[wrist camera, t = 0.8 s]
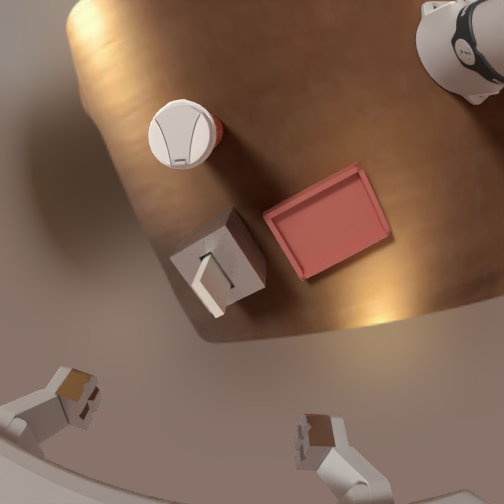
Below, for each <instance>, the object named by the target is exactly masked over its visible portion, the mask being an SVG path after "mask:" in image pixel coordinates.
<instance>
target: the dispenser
mask: <svg viewBox="0 0 504 504" xmlns="http://www.w3.org/2000/svg"><path fill="white" fill-rule="evenodd" d="M210 251H211V253H212V254H213V256H214V257H215V258H216V260H217V261H218V263H219V264H220V266H221V267H222V269H223V270H224V272H225V273H226V274H227V276H228V277H229V279H230V280H231V282H232V283H231V288H230V292H229V296H228V300H227V305H230V304H232V303H234V302H236V301H238V300H240V299H242V298H244V297H246V296H248V295H250V294H252V293H254V292H256V291H258V290H260V289H262V288H264V287H265V286H266V258H265V256H264V255H263V253H262V251H261V250H260V248H259V247H258V245H257V244H256V242H255V240H254V239H253V237H252V236H251V234H250V233H249V231H248V229H247V228H246V226H245V225H244V223H243V221H242V220H241V218H240V217H239V215H238V214H237V212H236V210H235V209H234V207H232V208H230V209H228V210H227V211H225V212H223V213H222V214H220V215H218V216H216V217H215V218H213V219H211V220H210V221H208V222H206V223H205V224H203V225H201V226H200V227H198V228H196V229H195V230H193V231H191V232H190V233H188V234H186V235H185V237H184V238H183V239H182V241H181V242H180V244H179V245H178V246H177V248H176V249H175V251H174V252H173V254H172V255H171V257H170V259H171V261H172V262H173V263H174V265H175V266H176V268H177V269H178V270H179V272H180V273H181V274H182V276H183V277H184V279H185V280H186V281H187V283H188V284H189V285H190V287H191V288H192V289H193V291H194V292H195V293H196V295H197V296H198V297H199V299H200V300H201V301H202V303H203V304H204V305H205V307H206V308H207V309H208V311H209V312H210V313H212V312H211V311H210V310H209V308H208V307H207V306H206V304H205V303H204V302H203V300H202V299H201V298H200V296H199V295H198V294H197V292H196V291H195V290H194V288H193V287H192V286H191V285H192V283H193V280H194V278H195V276H196V274H197V272H198V270H199V267H200V265H201V263H202V261H203V259H204V257H205V255H206V254H207V253H208V252H210ZM227 305H226V306H227Z"/></svg>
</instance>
